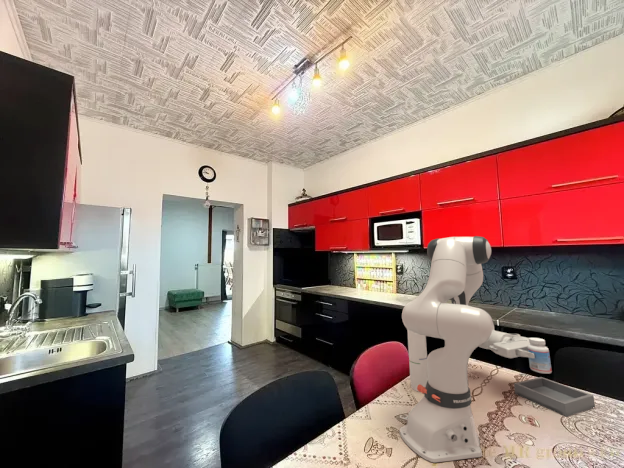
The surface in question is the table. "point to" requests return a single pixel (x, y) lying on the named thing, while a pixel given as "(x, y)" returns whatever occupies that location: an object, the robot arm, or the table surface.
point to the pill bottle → (539, 356)
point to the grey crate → (554, 396)
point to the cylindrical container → (417, 359)
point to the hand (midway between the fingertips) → (541, 354)
